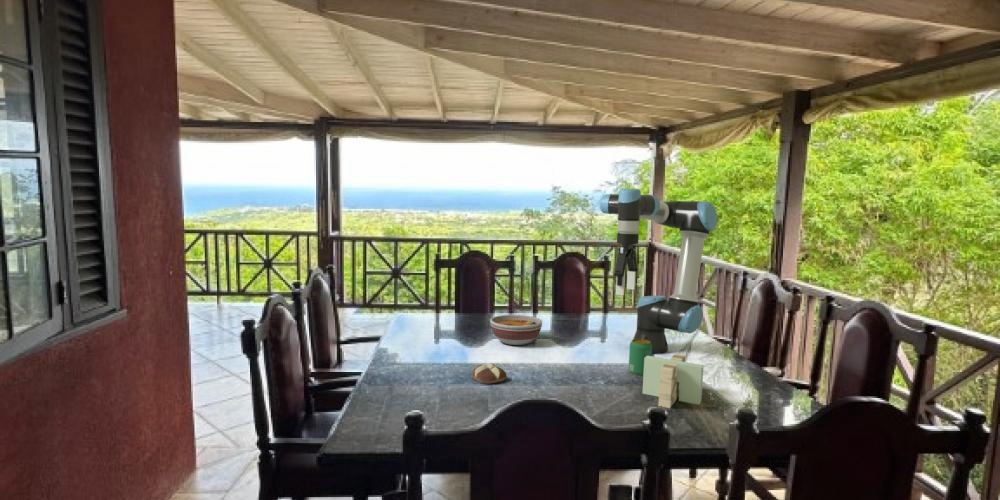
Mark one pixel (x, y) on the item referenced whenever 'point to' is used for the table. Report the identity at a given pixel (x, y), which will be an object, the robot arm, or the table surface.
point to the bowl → (515, 328)
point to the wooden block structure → (669, 382)
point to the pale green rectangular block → (686, 376)
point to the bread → (488, 374)
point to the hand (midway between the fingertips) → (625, 291)
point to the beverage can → (638, 355)
